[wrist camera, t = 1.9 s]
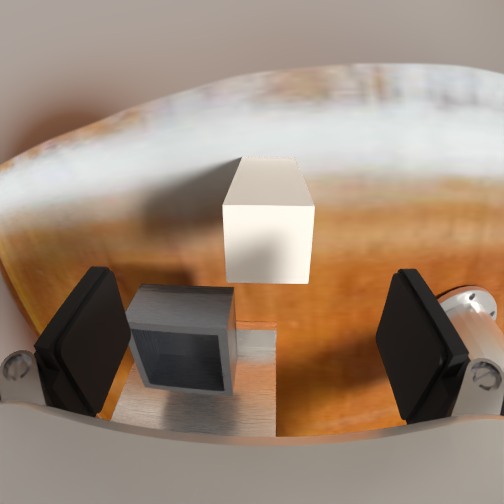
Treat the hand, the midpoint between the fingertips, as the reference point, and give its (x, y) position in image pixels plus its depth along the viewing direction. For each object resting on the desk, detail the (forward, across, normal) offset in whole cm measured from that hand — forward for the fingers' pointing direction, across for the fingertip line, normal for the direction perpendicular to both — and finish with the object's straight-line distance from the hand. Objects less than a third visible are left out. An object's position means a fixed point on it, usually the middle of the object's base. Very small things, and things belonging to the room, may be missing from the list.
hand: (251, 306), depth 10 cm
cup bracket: (+16, +5, +14) cm, 22 cm away
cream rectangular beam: (+16, -1, +1) cm, 16 cm away
